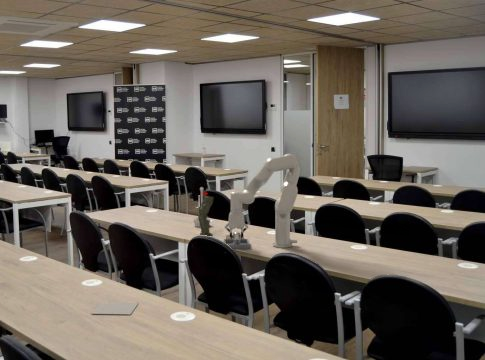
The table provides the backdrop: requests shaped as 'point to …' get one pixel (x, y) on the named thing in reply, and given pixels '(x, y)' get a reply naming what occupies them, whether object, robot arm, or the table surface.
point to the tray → (243, 244)
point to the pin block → (232, 237)
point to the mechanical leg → (205, 215)
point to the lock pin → (236, 238)
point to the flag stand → (201, 204)
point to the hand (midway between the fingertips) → (236, 238)
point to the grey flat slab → (114, 308)
